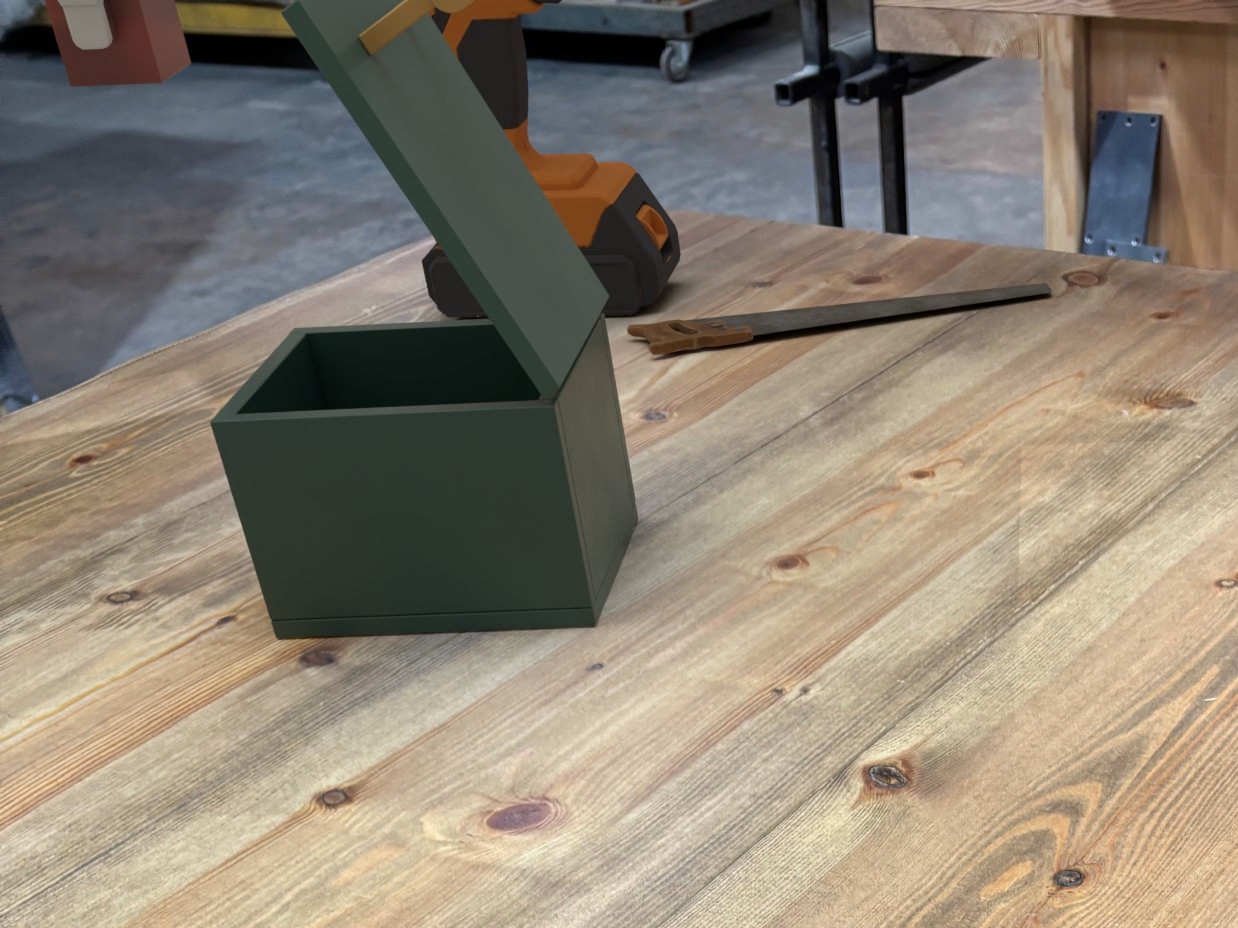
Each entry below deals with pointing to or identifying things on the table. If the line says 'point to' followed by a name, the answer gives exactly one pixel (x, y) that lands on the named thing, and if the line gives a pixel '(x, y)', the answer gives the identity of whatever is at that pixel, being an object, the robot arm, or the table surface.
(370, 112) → the lid
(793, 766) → the table surface
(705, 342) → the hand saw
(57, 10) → the block
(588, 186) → the power drill
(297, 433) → the chest
